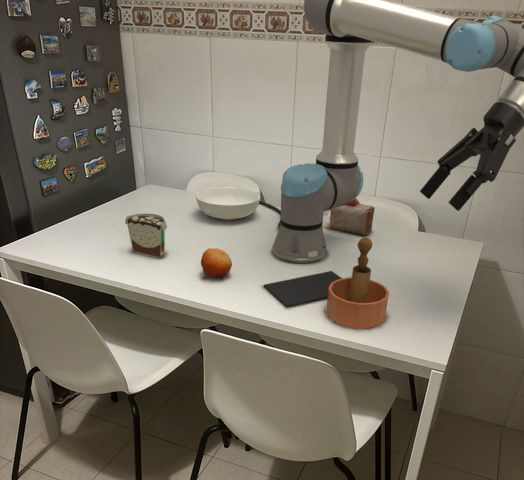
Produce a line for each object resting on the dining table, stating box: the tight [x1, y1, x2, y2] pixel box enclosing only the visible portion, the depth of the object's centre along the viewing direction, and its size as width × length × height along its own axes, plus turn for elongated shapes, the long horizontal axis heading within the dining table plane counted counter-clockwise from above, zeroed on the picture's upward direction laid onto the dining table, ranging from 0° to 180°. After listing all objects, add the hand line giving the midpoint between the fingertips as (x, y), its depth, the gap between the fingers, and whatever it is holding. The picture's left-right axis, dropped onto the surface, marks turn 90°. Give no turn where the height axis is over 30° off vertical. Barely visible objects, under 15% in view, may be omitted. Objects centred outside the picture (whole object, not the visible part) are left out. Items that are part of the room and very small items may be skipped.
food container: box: [124, 212, 168, 259], centre depth 143 cm, size 12×6×10 cm, turn 65°
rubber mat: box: [263, 270, 343, 309], centre depth 128 cm, size 12×20×1 cm, turn 117°
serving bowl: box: [195, 186, 261, 221], centre depth 171 cm, size 21×21×7 cm
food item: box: [328, 197, 375, 236], centre depth 161 cm, size 14×8×10 cm, turn 59°
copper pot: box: [325, 276, 390, 330], centre depth 117 cm, size 13×13×6 cm
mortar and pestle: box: [346, 237, 373, 303], centre depth 113 cm, size 7×6×18 cm
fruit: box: [200, 247, 233, 279], centre depth 132 cm, size 8×8×8 cm
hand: (437, 200), depth 109 cm, fingers open, 13 cm apart
